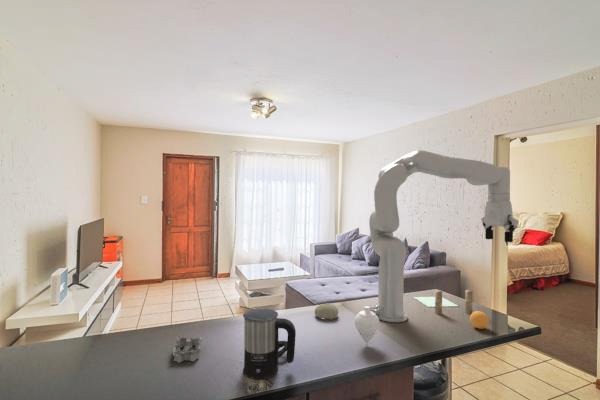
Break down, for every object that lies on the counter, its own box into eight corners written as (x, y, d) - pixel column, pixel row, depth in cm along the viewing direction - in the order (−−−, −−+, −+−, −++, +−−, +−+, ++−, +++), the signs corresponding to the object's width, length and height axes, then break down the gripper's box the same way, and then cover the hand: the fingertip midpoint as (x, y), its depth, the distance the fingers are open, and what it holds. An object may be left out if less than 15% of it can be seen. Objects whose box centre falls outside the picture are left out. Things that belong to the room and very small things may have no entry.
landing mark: (427, 307, 139) (427, 306, 139) (413, 297, 153) (413, 297, 153) (458, 306, 140) (458, 306, 140) (441, 297, 154) (441, 296, 154)
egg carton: (177, 347, 98) (177, 334, 98) (203, 346, 99) (203, 332, 99) (170, 365, 87) (170, 349, 87) (199, 362, 89) (199, 347, 89)
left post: (437, 314, 129) (437, 292, 129) (433, 312, 132) (434, 290, 132) (443, 314, 130) (443, 292, 130) (439, 312, 132) (440, 290, 132)
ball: (476, 331, 112) (476, 314, 112) (466, 325, 118) (466, 308, 118) (492, 331, 113) (492, 314, 113) (481, 324, 119) (481, 308, 119)
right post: (467, 313, 131) (468, 291, 131) (463, 311, 133) (464, 290, 133) (473, 313, 131) (474, 291, 131) (469, 311, 133) (470, 289, 134)
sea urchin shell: (308, 310, 127) (321, 294, 130) (320, 322, 129) (333, 306, 132) (319, 317, 119) (333, 300, 121) (332, 330, 121) (345, 313, 124)
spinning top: (379, 341, 103) (380, 304, 103) (379, 352, 95) (379, 312, 96) (355, 338, 105) (356, 302, 105) (353, 349, 98) (353, 309, 98)
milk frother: (244, 382, 79) (245, 321, 79) (238, 353, 94) (239, 302, 94) (299, 374, 83) (300, 317, 83) (285, 347, 98) (286, 299, 98)
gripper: (475, 198, 137) (474, 238, 137) (508, 197, 120) (508, 243, 120) (490, 198, 138) (490, 238, 138) (525, 197, 121) (525, 243, 121)
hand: (498, 240), depth 129 cm, fingers open, 9 cm apart
